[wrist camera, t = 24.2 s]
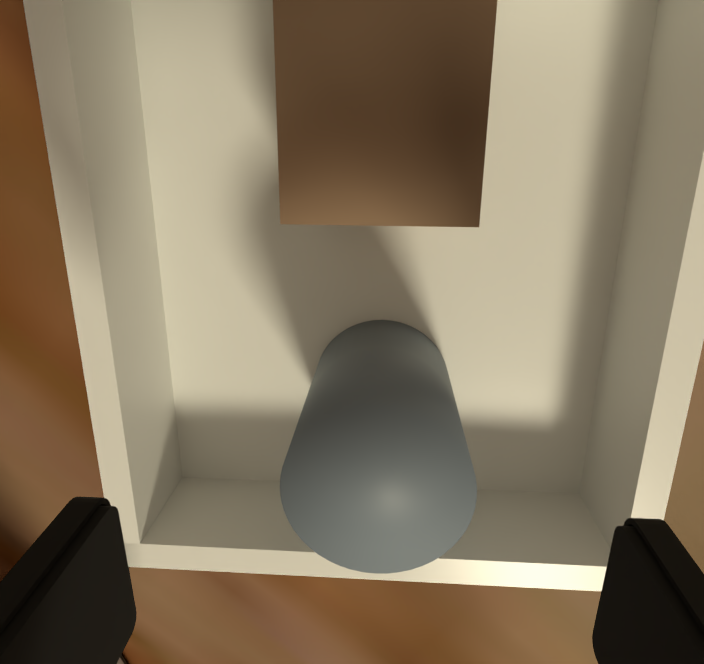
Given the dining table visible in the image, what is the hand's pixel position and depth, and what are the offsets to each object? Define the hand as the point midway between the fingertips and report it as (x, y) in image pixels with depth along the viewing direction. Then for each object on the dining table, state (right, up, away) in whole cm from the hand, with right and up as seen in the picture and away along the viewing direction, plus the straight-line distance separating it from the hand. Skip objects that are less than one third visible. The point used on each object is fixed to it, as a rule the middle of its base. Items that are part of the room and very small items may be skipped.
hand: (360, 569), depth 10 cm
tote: (+1, +7, +10) cm, 12 cm away
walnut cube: (+1, +11, +7) cm, 13 cm away
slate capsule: (+1, +3, +10) cm, 10 cm away
